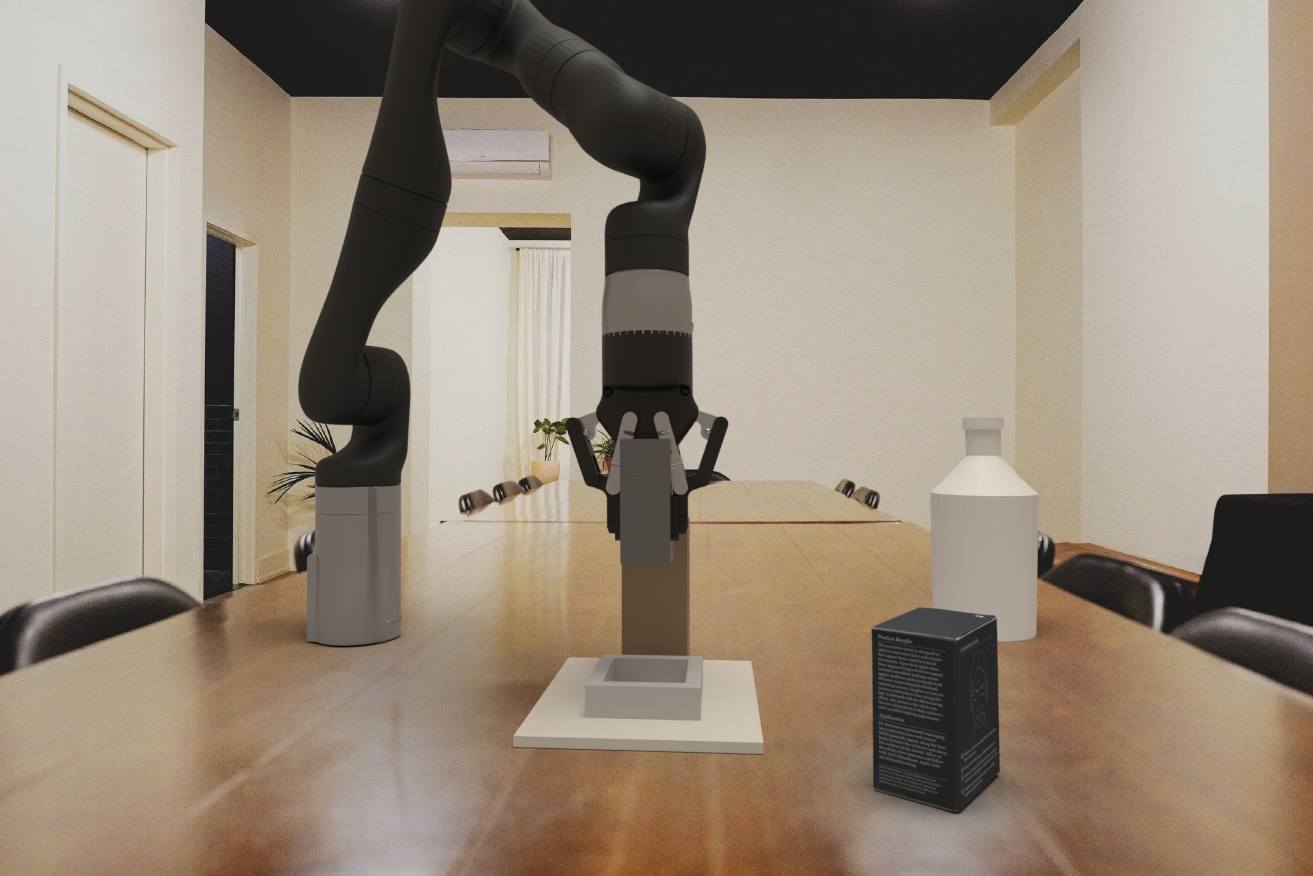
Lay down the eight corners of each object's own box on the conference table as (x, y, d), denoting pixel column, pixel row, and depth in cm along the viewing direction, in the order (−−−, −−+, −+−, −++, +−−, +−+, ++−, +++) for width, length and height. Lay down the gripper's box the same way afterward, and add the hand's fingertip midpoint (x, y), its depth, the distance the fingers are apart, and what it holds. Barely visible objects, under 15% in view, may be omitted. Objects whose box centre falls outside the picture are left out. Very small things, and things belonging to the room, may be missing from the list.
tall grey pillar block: (620, 564, 66) (619, 439, 66) (627, 556, 71) (626, 439, 71) (670, 564, 65) (669, 438, 65) (673, 556, 70) (673, 439, 70)
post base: (513, 747, 60) (513, 542, 60) (568, 665, 82) (568, 516, 82) (763, 754, 58) (763, 544, 58) (751, 669, 80) (751, 517, 80)
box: (918, 755, 58) (918, 605, 58) (1001, 775, 55) (1000, 615, 55) (869, 790, 52) (869, 623, 52) (959, 816, 49) (958, 636, 49)
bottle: (1006, 647, 89) (1005, 415, 89) (910, 628, 98) (910, 418, 98) (1058, 631, 96) (1057, 418, 96) (964, 615, 105) (964, 420, 106)
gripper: (553, 327, 65) (554, 545, 65) (734, 324, 64) (735, 545, 64) (570, 339, 72) (571, 534, 72) (732, 337, 71) (733, 535, 71)
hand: (648, 538), depth 68 cm, fingers closed on tall grey pillar block, 4 cm apart
